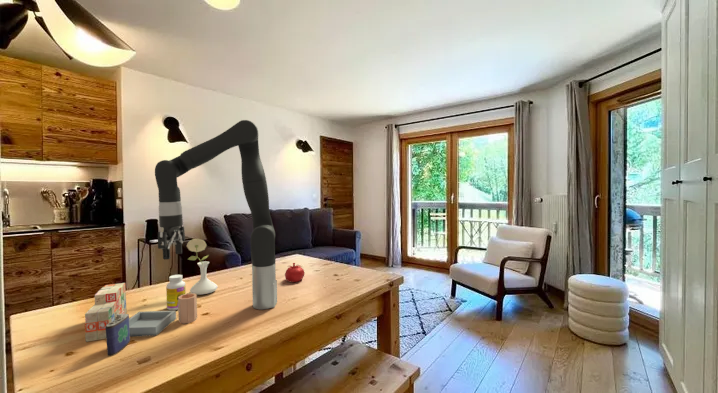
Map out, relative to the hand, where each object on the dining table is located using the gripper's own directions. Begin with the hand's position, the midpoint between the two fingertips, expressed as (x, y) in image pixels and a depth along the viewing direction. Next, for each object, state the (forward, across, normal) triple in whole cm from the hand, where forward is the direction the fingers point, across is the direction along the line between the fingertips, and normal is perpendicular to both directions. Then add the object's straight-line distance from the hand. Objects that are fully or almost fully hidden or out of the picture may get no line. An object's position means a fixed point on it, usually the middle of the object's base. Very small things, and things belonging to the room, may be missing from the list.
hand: (173, 256), depth 119 cm
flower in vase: (+23, +24, +1) cm, 33 cm away
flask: (+23, -24, +5) cm, 33 cm away
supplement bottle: (+23, +7, +4) cm, 24 cm away
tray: (+23, -10, +5) cm, 25 cm away
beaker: (+23, -5, -7) cm, 24 cm away
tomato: (+24, +40, -39) cm, 61 cm away
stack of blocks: (+23, -8, +19) cm, 31 cm away
